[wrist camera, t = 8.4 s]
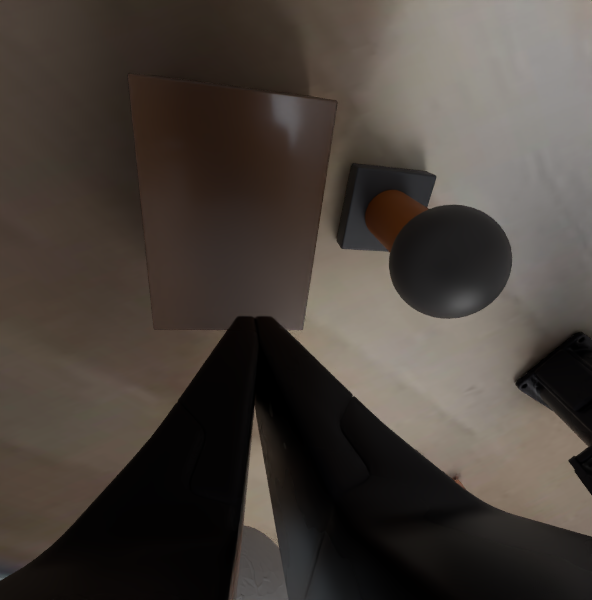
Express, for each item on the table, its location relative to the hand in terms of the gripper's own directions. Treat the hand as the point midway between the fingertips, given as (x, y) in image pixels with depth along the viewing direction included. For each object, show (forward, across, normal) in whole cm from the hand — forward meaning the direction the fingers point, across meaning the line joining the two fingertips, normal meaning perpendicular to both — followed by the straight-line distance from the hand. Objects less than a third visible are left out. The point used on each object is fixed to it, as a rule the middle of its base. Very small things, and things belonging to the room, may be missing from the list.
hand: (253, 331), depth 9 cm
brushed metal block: (+12, 0, 0) cm, 12 cm away
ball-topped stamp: (+12, -5, 0) cm, 13 cm away
